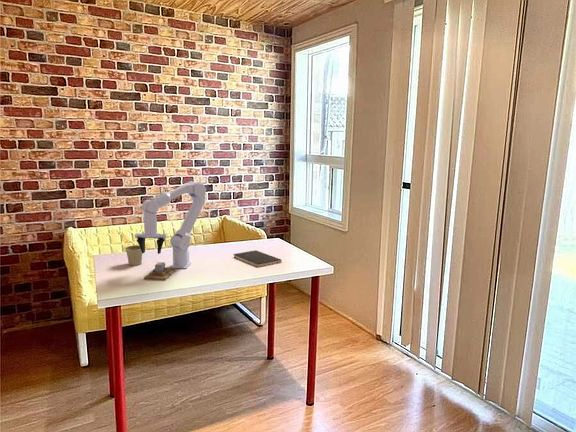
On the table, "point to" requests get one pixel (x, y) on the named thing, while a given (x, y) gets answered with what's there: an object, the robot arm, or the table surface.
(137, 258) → the flower pot
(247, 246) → the table surface
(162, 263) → the servo block
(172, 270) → the chassis board
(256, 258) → the hardcover book
